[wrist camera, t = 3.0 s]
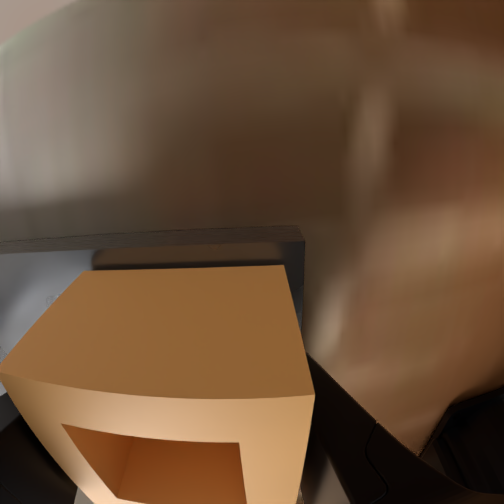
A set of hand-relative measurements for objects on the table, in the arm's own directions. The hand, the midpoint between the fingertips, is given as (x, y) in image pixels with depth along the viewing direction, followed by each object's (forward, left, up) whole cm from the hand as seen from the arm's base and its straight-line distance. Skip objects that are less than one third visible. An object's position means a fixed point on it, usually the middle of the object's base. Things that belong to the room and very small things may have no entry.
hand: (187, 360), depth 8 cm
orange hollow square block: (0, 0, 0) cm, 0 cm away
